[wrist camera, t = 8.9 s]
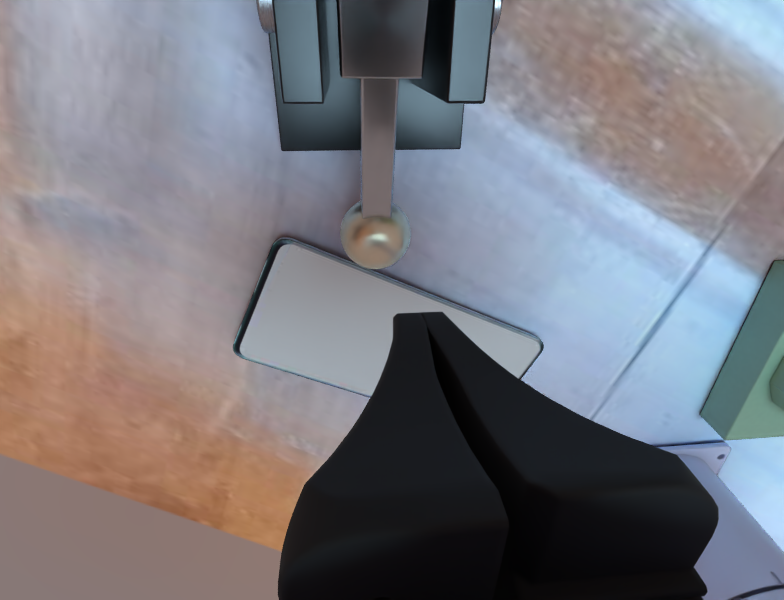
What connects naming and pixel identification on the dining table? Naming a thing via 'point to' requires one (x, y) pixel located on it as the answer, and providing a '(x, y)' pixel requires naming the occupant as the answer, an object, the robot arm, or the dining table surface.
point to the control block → (753, 371)
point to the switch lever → (379, 116)
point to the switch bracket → (341, 95)
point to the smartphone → (350, 320)
